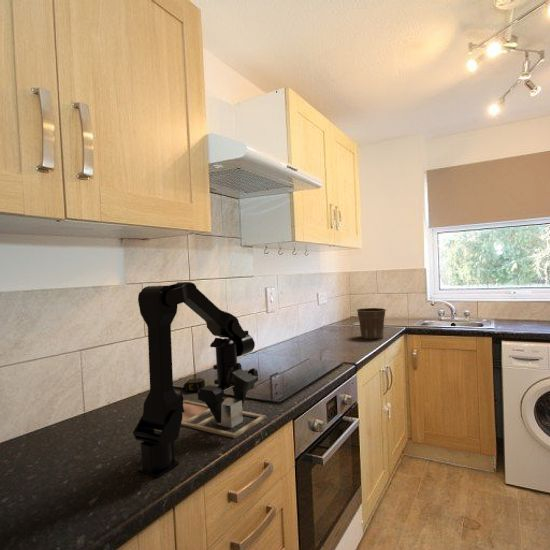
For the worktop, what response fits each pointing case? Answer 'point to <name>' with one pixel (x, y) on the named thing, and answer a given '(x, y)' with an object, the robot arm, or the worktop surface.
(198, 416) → the rectangular frame with crossbars
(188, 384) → the tape measure
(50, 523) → the worktop surface
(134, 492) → the worktop surface
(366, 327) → the plant pot
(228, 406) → the metal block
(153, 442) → the robot arm
